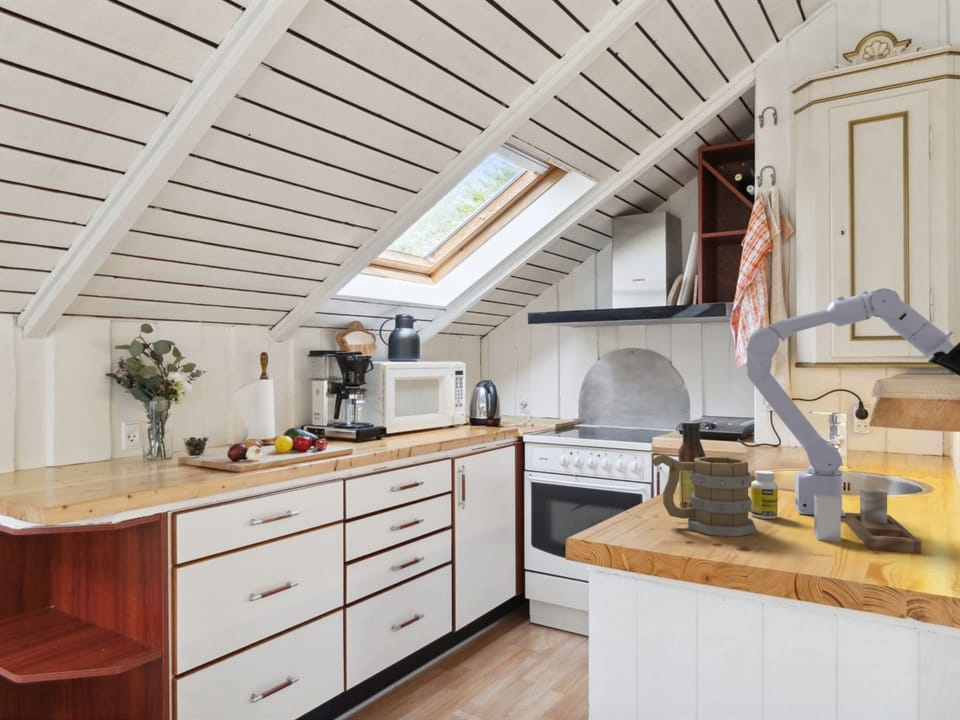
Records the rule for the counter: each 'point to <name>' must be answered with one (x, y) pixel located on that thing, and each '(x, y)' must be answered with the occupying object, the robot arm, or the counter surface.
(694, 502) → the tankard
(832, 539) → the block
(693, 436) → the sauce bottle
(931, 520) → the counter surface
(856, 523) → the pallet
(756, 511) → the supplement bottle
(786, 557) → the counter surface
